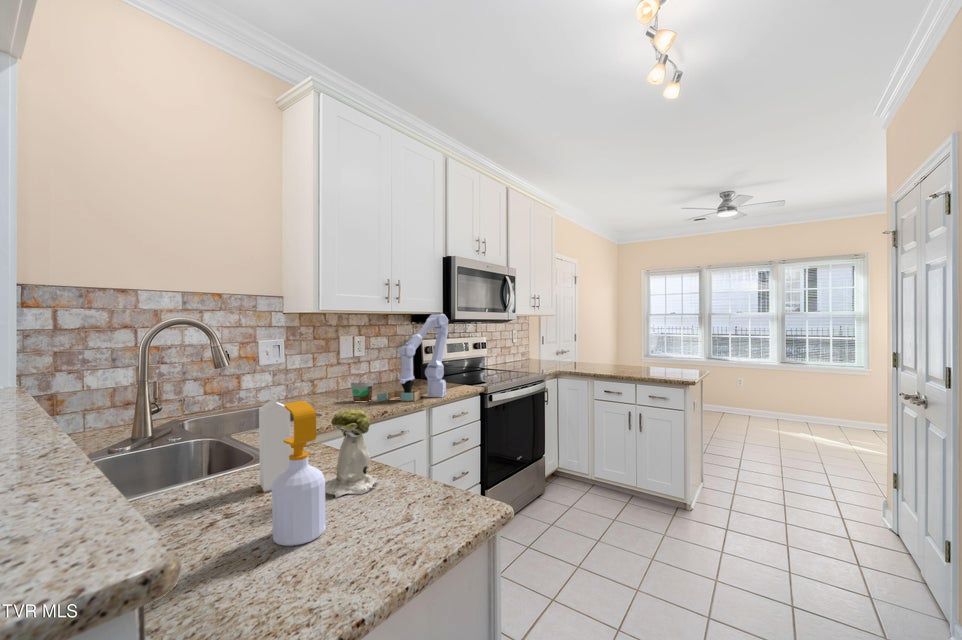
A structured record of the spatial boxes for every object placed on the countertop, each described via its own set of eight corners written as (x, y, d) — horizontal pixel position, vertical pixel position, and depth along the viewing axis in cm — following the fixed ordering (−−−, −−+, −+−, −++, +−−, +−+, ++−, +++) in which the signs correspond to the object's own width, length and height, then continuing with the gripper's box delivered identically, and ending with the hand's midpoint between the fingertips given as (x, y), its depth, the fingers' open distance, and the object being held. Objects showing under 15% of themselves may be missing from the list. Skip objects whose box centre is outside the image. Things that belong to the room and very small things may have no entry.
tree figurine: (321, 481, 102) (320, 408, 102) (374, 474, 107) (373, 403, 107) (321, 500, 91) (320, 418, 91) (380, 491, 96) (379, 412, 96)
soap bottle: (310, 518, 83) (308, 396, 83) (334, 532, 77) (332, 401, 78) (264, 536, 76) (262, 404, 76) (287, 553, 71) (285, 410, 71)
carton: (420, 398, 214) (420, 390, 214) (414, 401, 206) (414, 393, 206) (394, 397, 217) (394, 390, 217) (387, 400, 209) (387, 392, 209)
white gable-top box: (264, 492, 97) (262, 398, 97) (259, 484, 101) (258, 395, 101) (291, 485, 100) (290, 395, 100) (285, 478, 105) (284, 392, 105)
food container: (345, 402, 206) (345, 382, 206) (352, 400, 212) (352, 381, 212) (367, 403, 202) (366, 383, 202) (373, 401, 208) (373, 381, 208)
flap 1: (377, 401, 203) (377, 394, 203) (376, 401, 203) (376, 394, 203) (387, 399, 208) (387, 392, 208) (386, 399, 208) (386, 392, 208)
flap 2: (412, 399, 206) (412, 392, 206) (412, 399, 205) (412, 393, 205) (401, 399, 207) (401, 392, 207) (401, 399, 207) (401, 392, 207)
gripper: (405, 367, 217) (405, 393, 217) (394, 370, 202) (394, 398, 202) (418, 367, 215) (418, 393, 215) (407, 370, 201) (408, 398, 201)
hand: (407, 395), depth 209 cm, fingers closed
